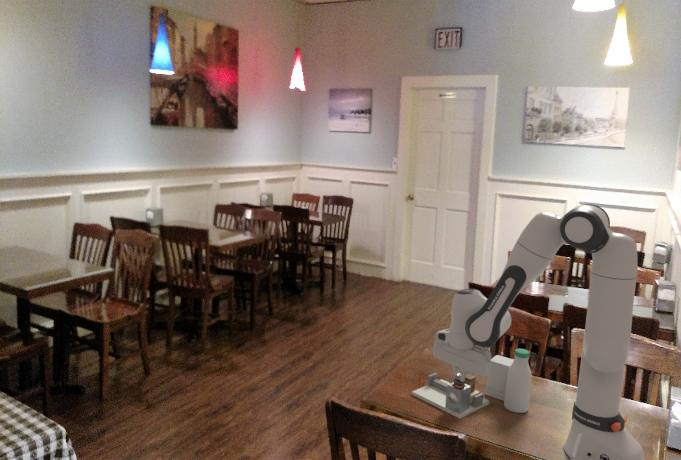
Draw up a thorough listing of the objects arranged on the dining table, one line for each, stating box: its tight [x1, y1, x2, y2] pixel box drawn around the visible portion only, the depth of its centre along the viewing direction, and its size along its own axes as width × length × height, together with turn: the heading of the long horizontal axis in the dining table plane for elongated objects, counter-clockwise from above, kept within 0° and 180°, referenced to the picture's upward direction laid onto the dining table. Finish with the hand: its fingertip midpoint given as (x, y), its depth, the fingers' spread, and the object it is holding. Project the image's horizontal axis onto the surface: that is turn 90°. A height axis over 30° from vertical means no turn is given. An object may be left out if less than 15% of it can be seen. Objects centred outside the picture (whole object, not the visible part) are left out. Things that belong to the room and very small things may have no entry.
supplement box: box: [485, 354, 515, 402], centre depth 192 cm, size 7×7×13 cm
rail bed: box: [411, 372, 490, 420], centre depth 187 cm, size 20×16×5 cm
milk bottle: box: [503, 348, 533, 414], centre depth 182 cm, size 8×8×20 cm
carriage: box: [465, 373, 481, 405], centre depth 184 cm, size 6×5×8 cm
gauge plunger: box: [453, 378, 465, 389], centre depth 179 cm, size 4×4×8 cm
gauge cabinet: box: [445, 381, 471, 414], centre depth 179 cm, size 5×6×9 cm
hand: (459, 379), depth 178 cm, fingers closed, pressing on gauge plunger
